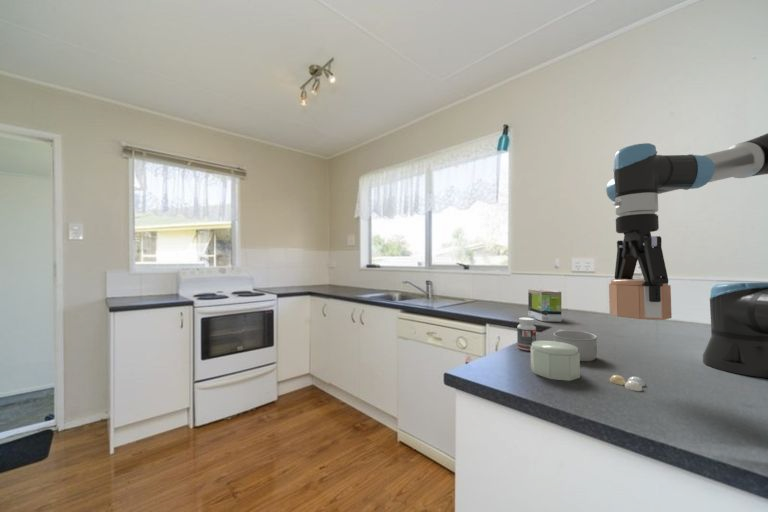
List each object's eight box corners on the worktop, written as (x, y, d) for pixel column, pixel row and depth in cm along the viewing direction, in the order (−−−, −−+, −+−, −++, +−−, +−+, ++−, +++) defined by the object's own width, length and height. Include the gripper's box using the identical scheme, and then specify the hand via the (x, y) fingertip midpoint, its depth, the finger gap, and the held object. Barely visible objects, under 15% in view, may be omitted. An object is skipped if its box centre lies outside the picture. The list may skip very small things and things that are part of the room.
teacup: (604, 369, 83) (604, 339, 84) (560, 366, 86) (560, 337, 86) (582, 354, 97) (582, 328, 97) (545, 352, 99) (545, 326, 99)
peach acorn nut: (653, 312, 73) (651, 278, 74) (680, 320, 64) (679, 281, 64) (604, 311, 76) (603, 278, 76) (623, 318, 66) (622, 281, 67)
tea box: (562, 321, 150) (562, 291, 150) (541, 321, 150) (541, 291, 151) (546, 316, 165) (546, 288, 166) (527, 316, 165) (527, 288, 166)
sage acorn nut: (570, 373, 80) (570, 342, 80) (584, 388, 70) (584, 353, 70) (528, 369, 83) (528, 339, 83) (536, 383, 73) (535, 349, 73)
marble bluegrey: (640, 388, 70) (640, 375, 70) (647, 393, 67) (647, 380, 68) (624, 387, 71) (624, 373, 71) (631, 392, 68) (631, 378, 68)
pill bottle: (537, 351, 99) (536, 320, 99) (517, 350, 101) (517, 319, 102) (535, 347, 105) (535, 317, 105) (517, 345, 107) (516, 316, 107)
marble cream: (638, 393, 68) (637, 379, 68) (645, 398, 65) (645, 384, 65) (622, 391, 69) (622, 377, 69) (628, 397, 66) (628, 382, 66)
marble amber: (622, 386, 71) (622, 373, 71) (628, 392, 68) (628, 378, 68) (607, 385, 72) (607, 372, 72) (613, 390, 69) (612, 377, 69)
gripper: (597, 221, 82) (599, 305, 82) (643, 207, 61) (647, 322, 60) (630, 220, 80) (633, 306, 80) (690, 205, 59) (694, 323, 58)
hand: (639, 313), depth 70 cm, fingers closed on peach acorn nut, 10 cm apart
